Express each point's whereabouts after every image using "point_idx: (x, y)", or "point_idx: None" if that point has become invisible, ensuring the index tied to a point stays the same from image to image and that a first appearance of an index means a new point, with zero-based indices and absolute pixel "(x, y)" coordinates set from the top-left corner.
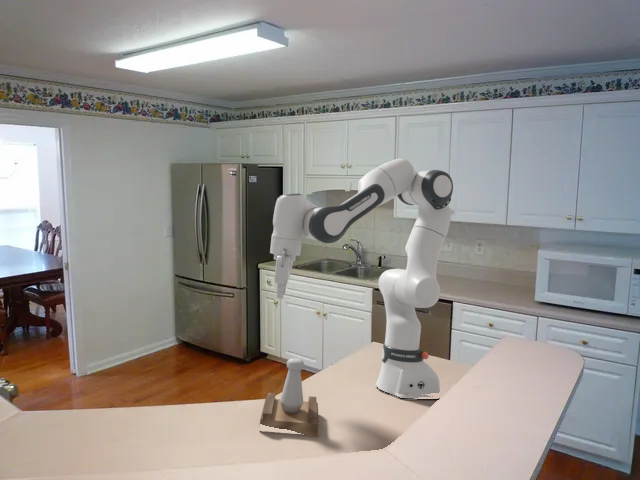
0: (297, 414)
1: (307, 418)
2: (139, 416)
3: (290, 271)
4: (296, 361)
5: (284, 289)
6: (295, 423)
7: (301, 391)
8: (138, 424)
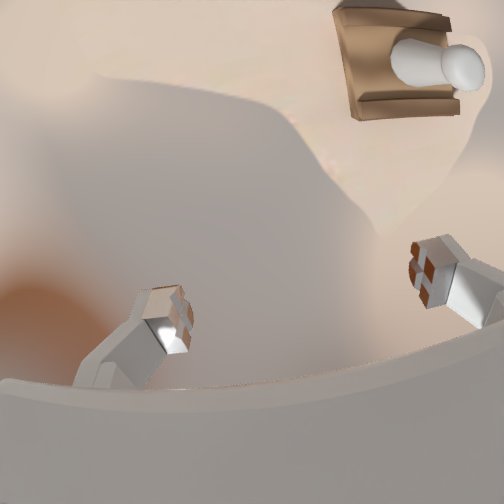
0: None
1: (428, 31)
2: None
3: (4, 432)
4: (482, 68)
5: (173, 314)
6: None
7: (432, 44)
8: None
